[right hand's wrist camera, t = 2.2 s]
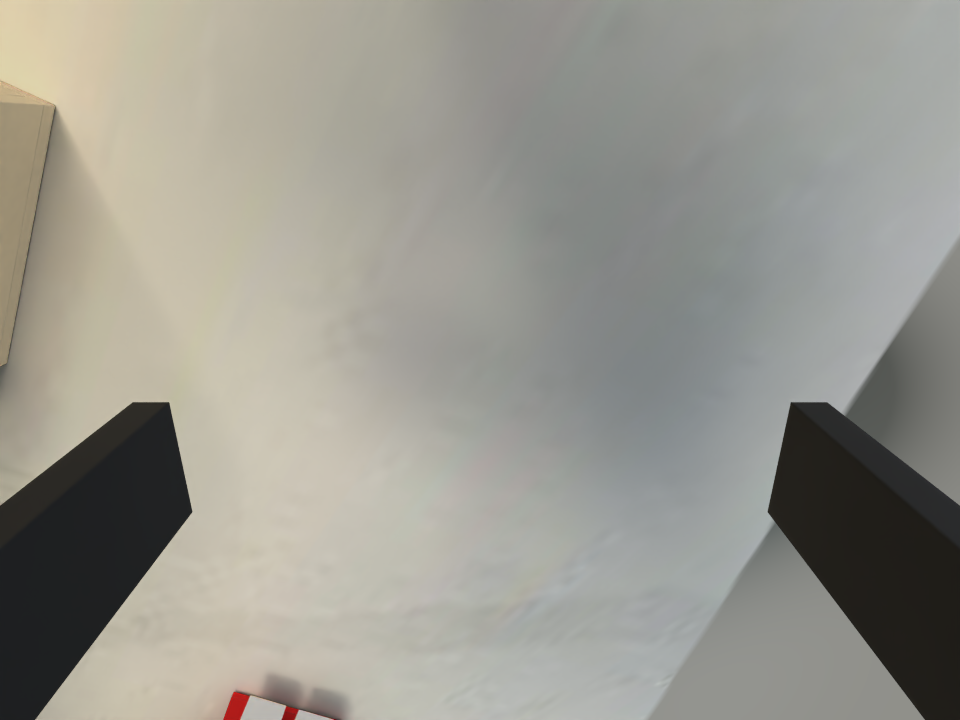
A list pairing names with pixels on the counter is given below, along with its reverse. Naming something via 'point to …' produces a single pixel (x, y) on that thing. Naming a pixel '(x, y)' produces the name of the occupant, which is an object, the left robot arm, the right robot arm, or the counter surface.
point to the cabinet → (18, 192)
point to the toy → (264, 710)
